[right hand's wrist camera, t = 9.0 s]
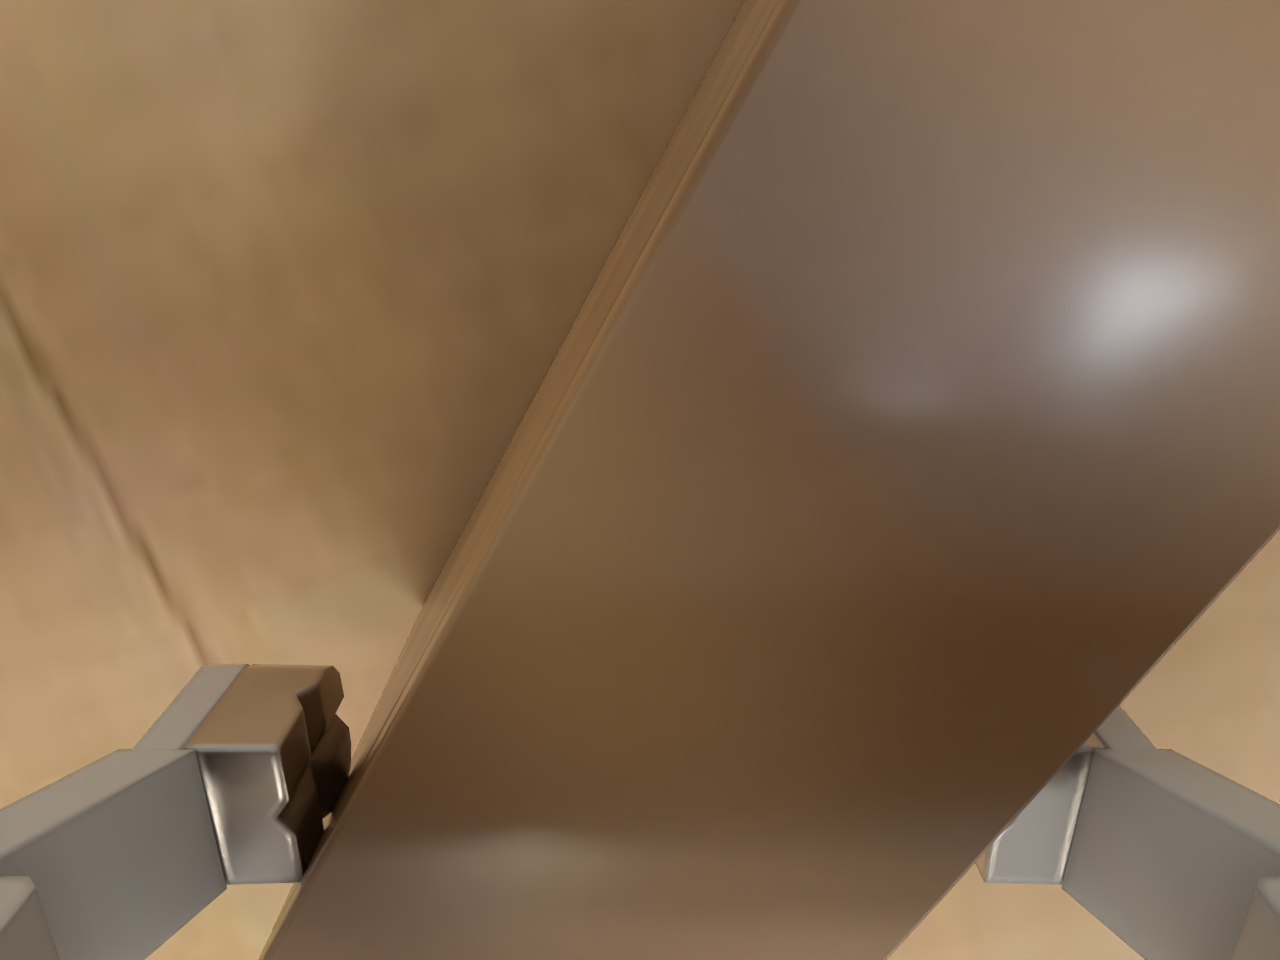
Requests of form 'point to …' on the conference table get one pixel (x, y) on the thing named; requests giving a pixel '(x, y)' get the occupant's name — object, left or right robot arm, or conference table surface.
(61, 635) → the conference table surface
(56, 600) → the conference table surface
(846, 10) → the cabinet
